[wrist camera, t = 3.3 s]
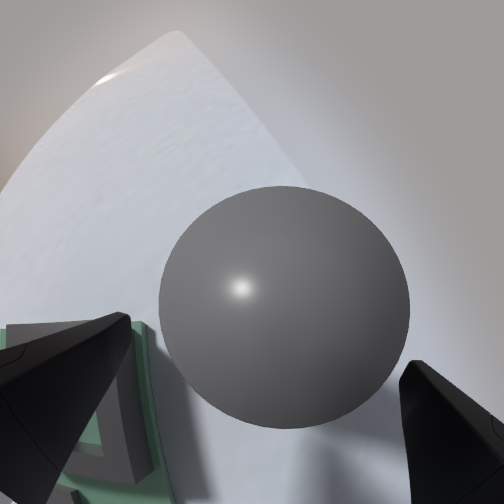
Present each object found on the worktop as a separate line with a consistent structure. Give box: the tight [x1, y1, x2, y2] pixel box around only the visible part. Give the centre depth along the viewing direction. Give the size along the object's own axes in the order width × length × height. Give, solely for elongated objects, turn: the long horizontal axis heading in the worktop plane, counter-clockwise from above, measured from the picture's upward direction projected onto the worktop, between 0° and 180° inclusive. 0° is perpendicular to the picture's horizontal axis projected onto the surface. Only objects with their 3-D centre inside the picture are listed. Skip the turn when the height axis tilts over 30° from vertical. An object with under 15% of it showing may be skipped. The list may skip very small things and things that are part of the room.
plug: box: [159, 186, 410, 429], centre depth 10 cm, size 5×5×12 cm
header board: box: [0, 320, 176, 504], centre depth 10 cm, size 18×14×4 cm
